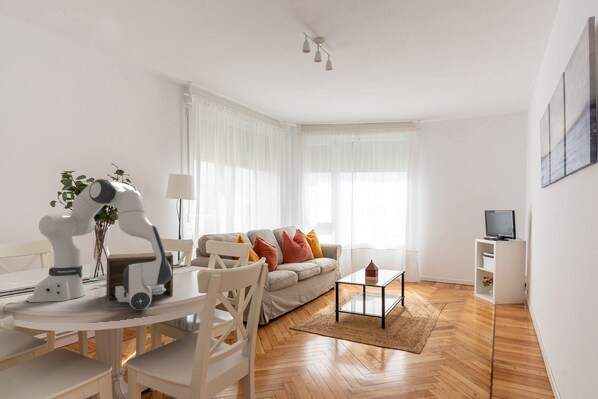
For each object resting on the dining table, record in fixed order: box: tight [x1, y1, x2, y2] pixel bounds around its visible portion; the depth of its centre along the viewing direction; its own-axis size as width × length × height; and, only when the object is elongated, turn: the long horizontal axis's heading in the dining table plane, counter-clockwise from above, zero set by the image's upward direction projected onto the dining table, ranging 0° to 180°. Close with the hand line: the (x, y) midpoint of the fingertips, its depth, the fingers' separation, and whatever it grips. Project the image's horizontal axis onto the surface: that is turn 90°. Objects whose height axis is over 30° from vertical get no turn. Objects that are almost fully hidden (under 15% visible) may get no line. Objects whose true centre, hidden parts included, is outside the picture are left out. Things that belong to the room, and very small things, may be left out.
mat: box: [107, 299, 131, 308], centre depth 165 cm, size 10×10×1 cm
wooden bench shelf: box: [105, 251, 174, 302], centre depth 181 cm, size 15×28×19 cm, turn 113°
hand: (140, 286), depth 175 cm, fingers open, 8 cm apart
